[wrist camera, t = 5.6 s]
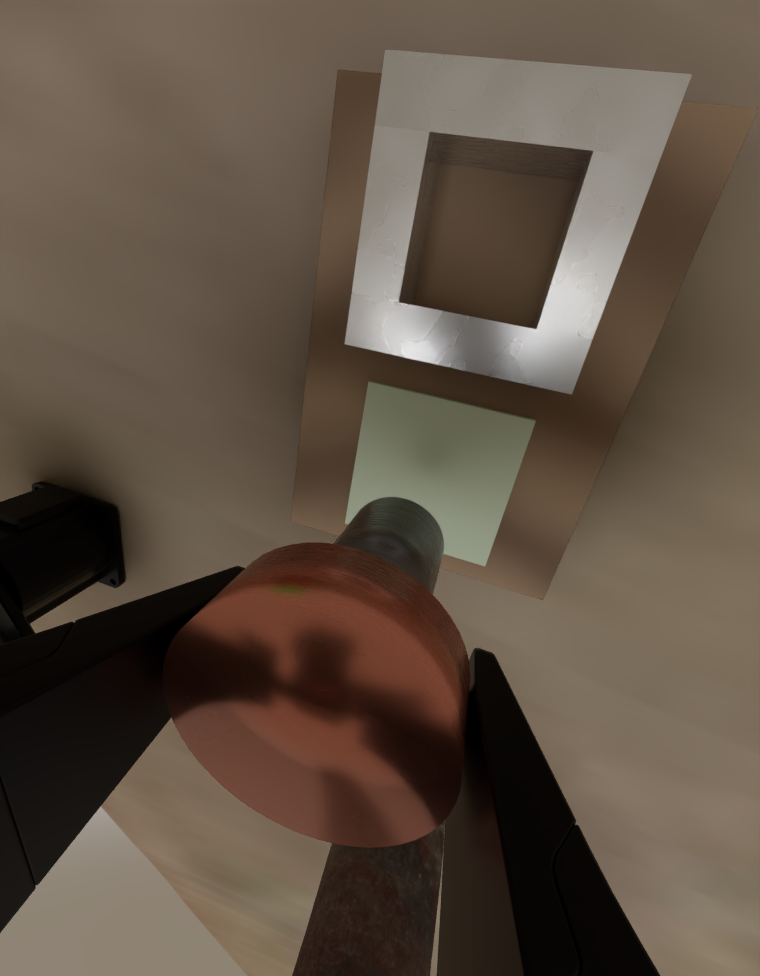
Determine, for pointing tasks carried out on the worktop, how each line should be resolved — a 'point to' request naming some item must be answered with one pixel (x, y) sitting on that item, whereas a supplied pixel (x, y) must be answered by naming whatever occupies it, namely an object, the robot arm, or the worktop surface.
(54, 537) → the robot arm
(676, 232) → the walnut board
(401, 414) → the rubber pad
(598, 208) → the block
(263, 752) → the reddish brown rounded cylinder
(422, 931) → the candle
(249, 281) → the worktop surface
